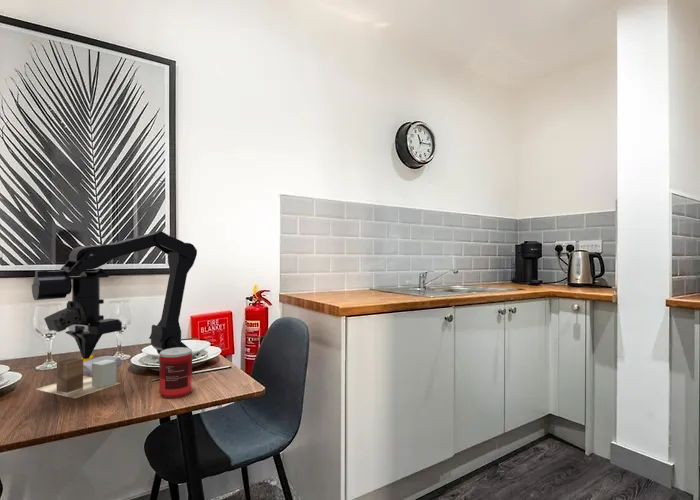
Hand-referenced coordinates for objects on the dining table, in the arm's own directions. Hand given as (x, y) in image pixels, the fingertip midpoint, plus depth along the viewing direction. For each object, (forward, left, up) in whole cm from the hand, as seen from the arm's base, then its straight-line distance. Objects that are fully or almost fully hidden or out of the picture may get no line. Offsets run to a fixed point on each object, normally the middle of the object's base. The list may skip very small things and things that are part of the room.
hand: (86, 358), depth 97 cm
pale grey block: (+3, -7, -9) cm, 12 cm away
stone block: (+20, -16, -10) cm, 27 cm away
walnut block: (+6, 0, -9) cm, 11 cm away
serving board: (+8, -3, -10) cm, 13 cm away
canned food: (-18, -11, -10) cm, 24 cm away
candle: (+29, -19, -10) cm, 36 cm away
